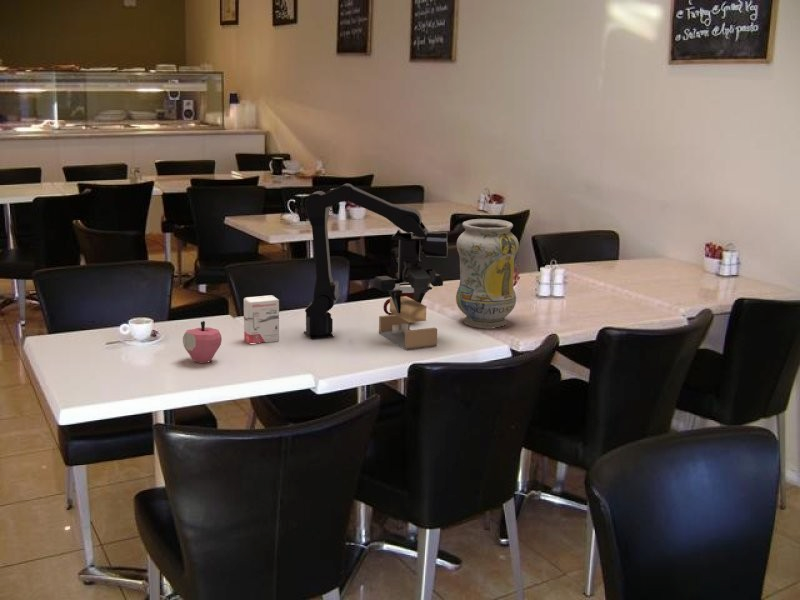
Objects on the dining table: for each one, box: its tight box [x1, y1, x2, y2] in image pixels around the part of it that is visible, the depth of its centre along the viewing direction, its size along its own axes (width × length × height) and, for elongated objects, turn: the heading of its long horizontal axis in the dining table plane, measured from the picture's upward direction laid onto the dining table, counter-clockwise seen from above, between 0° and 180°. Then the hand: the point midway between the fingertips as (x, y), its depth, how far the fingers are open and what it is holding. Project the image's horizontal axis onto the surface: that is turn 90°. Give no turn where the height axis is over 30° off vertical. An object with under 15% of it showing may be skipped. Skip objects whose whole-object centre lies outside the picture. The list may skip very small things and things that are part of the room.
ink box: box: [243, 294, 280, 344], centre depth 242 cm, size 9×5×12 cm, turn 118°
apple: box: [182, 320, 223, 363], centre depth 223 cm, size 10×9×10 cm
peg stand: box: [378, 314, 438, 351], centre depth 246 cm, size 9×17×5 cm, turn 26°
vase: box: [455, 218, 520, 330], centre depth 262 cm, size 18×18×30 cm
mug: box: [383, 286, 414, 324], centre depth 262 cm, size 11×8×10 cm
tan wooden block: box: [389, 296, 427, 323], centre depth 245 cm, size 5×12×4 cm, turn 26°
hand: (407, 312), depth 245 cm, fingers closed on tan wooden block, 5 cm apart
